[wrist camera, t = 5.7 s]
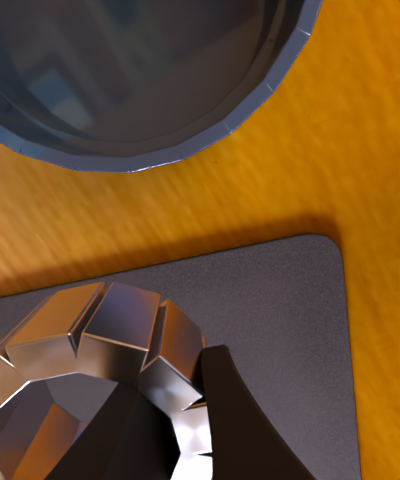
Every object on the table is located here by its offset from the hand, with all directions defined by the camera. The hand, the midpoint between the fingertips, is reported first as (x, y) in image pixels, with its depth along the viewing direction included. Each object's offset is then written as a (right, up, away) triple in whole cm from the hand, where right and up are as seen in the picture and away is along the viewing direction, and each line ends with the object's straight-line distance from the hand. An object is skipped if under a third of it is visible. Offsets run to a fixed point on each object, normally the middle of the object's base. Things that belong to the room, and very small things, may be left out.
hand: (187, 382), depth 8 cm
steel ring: (-2, 0, +1) cm, 3 cm away
